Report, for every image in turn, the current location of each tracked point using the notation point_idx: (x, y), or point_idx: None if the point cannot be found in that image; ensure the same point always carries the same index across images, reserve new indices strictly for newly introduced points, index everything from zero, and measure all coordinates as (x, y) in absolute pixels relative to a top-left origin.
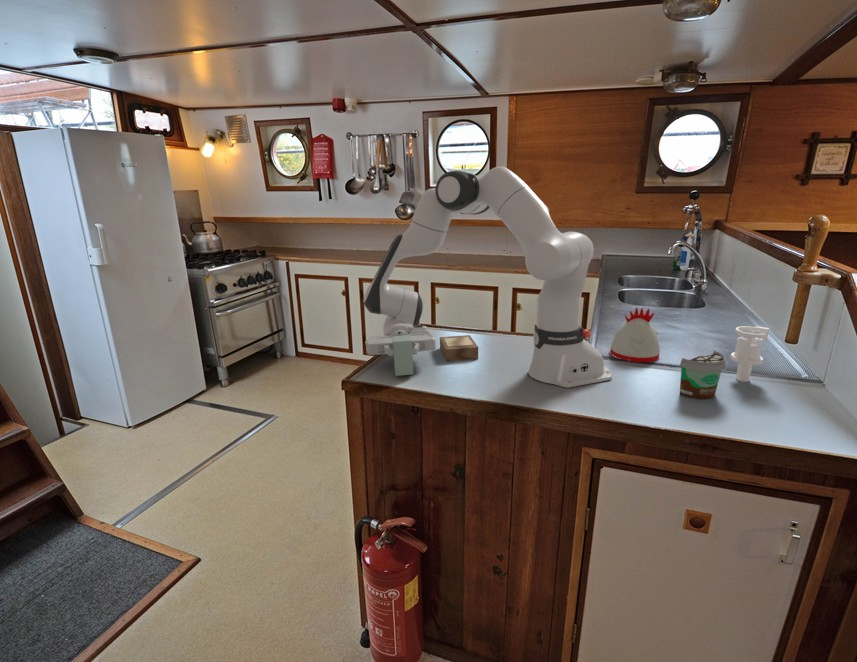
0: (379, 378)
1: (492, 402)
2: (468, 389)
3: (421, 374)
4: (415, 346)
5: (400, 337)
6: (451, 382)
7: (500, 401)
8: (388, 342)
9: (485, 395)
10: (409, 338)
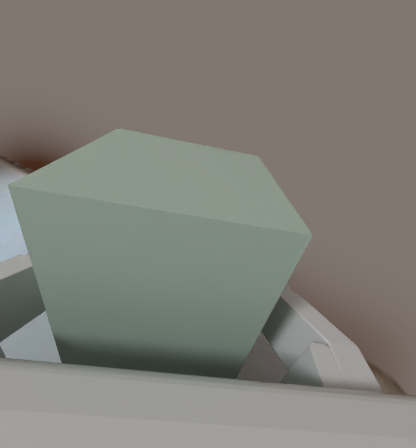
0: (280, 372)
1: (26, 169)
2: (10, 208)
3: (56, 360)
4: (29, 258)
5: (197, 181)
6: (7, 249)
7: (6, 167)
8: (355, 401)
9: (6, 183)
10: (111, 144)
